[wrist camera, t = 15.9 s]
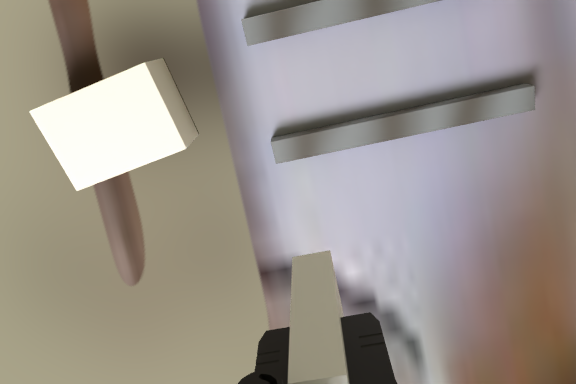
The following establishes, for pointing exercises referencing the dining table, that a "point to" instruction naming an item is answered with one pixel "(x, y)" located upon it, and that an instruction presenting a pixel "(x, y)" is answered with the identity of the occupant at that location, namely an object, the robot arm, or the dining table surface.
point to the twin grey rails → (483, 106)
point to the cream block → (117, 124)
